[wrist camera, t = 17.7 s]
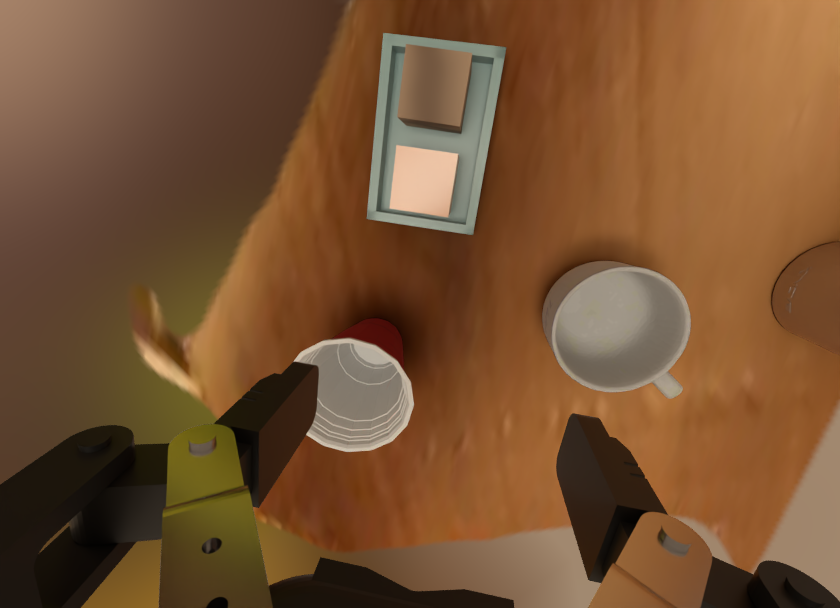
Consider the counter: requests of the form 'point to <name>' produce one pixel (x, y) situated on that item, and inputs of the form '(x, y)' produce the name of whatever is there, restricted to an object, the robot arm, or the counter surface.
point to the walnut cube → (434, 88)
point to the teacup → (617, 326)
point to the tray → (434, 134)
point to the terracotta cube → (423, 181)
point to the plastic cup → (360, 387)
